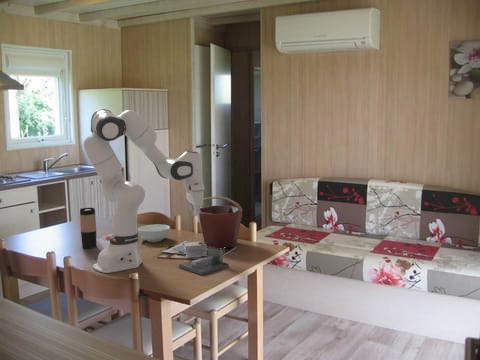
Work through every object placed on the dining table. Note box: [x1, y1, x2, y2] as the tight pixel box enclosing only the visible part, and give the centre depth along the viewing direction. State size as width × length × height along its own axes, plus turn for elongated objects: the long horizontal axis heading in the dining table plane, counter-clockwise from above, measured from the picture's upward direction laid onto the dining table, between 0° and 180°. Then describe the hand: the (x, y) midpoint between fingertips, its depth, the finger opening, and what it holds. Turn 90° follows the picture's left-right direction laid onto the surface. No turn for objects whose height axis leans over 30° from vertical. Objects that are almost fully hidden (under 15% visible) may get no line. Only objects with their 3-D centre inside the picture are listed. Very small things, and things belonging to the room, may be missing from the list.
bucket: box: [198, 196, 243, 248], centre depth 280 cm, size 24×22×25 cm
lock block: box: [183, 240, 208, 259], centre depth 262 cm, size 10×6×6 cm, turn 104°
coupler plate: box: [178, 246, 230, 276], centre depth 243 cm, size 16×16×8 cm
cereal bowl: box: [137, 223, 171, 243], centre depth 291 cm, size 17×17×7 cm
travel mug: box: [79, 207, 97, 250], centre depth 278 cm, size 8×8×20 cm
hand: (194, 212), depth 262 cm, fingers open, 8 cm apart
